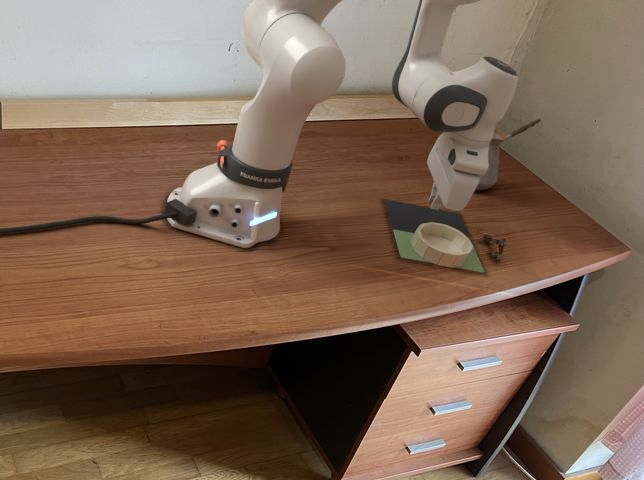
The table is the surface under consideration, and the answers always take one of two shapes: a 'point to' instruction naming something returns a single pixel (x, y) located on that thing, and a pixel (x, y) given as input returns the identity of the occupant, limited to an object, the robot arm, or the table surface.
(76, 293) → the table surface
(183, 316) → the table surface
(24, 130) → the table surface
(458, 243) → the bowl
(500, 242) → the wooden post with brackets
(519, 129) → the coffee pot
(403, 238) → the desk mat
